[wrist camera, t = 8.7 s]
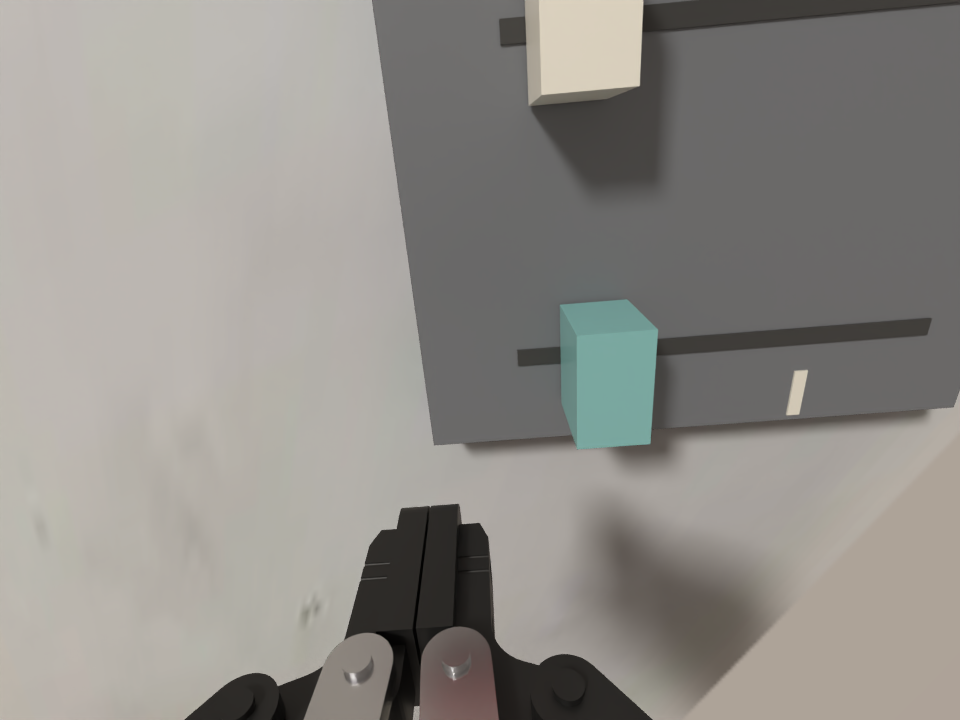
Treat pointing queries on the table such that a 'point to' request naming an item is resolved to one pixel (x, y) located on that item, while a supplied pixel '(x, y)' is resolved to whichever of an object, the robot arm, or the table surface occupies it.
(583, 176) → the console
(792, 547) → the table surface
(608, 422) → the fader teal
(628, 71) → the block
